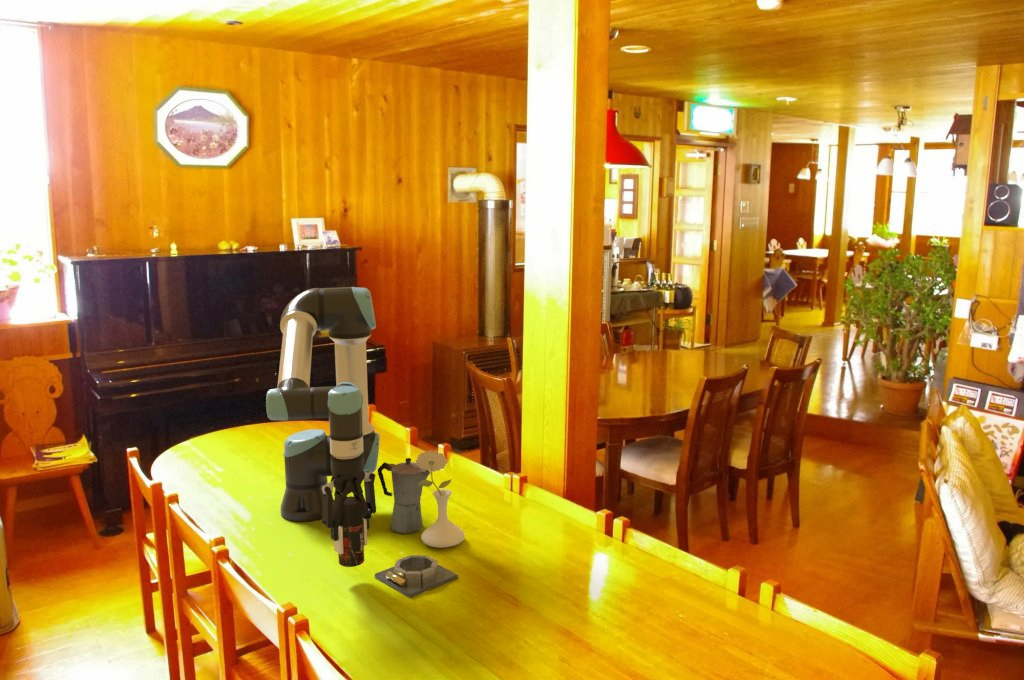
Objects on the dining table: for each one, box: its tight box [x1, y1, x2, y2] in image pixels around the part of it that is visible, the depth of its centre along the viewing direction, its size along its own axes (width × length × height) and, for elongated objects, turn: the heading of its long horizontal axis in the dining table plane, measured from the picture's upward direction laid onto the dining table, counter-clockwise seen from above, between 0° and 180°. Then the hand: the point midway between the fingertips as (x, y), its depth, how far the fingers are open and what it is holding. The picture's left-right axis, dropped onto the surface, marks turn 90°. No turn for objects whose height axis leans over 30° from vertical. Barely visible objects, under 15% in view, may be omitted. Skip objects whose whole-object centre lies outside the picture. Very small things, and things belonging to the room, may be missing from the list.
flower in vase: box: [415, 449, 466, 549], centre depth 216 cm, size 13×11×25 cm
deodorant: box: [337, 495, 365, 568], centre depth 194 cm, size 6×6×15 cm
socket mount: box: [374, 554, 459, 599], centre depth 198 cm, size 14×14×4 cm
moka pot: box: [377, 457, 431, 535], centre depth 225 cm, size 10×15×20 cm, turn 78°
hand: (351, 547), depth 195 cm, fingers closed on deodorant, 6 cm apart
